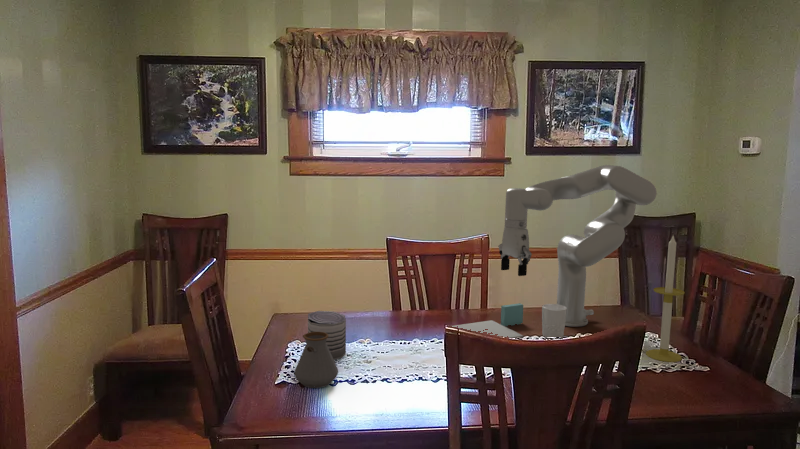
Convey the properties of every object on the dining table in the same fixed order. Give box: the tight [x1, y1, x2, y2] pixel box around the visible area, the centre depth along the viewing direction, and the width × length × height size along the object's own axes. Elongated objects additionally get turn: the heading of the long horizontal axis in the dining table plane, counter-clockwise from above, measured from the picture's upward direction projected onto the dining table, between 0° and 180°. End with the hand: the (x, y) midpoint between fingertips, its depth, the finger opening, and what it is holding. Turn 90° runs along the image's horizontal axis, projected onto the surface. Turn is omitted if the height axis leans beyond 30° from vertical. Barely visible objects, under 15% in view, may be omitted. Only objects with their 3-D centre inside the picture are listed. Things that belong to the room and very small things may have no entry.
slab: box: [500, 302, 524, 327], centre depth 204 cm, size 8×2×7 cm, turn 115°
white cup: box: [541, 303, 567, 340], centre depth 191 cm, size 8×8×10 cm
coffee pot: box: [293, 332, 339, 389], centre depth 147 cm, size 21×12×15 cm, turn 1°
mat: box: [451, 319, 524, 339], centre depth 194 cm, size 19×18×1 cm
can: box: [307, 310, 347, 361], centre depth 172 cm, size 11×11×12 cm
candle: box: [645, 235, 685, 363], centre depth 172 cm, size 10×10×38 cm
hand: (513, 272), depth 201 cm, fingers open, 9 cm apart
